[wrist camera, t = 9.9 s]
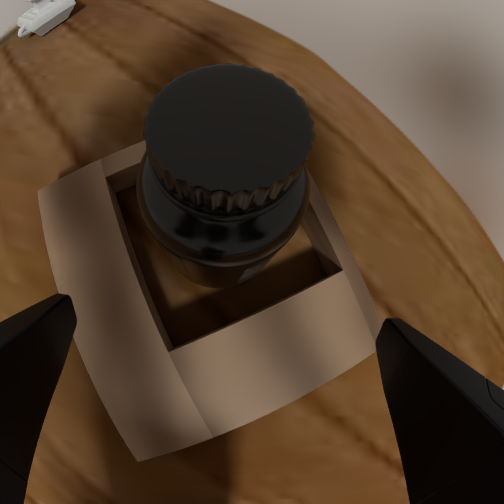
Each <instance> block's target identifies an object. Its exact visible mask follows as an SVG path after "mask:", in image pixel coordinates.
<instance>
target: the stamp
mask: <svg viewBox="0 0 504 504" xmlns="http://www.w3.org/2000/svg"><path fill="white" fill-rule="evenodd" d="M23 1H27V2H32V3H33V8H31V9H30V10H29V11H27V12H26V13H24V14H23V15H22V16H20V17H19V19H18V26H20V27H21V28H20V29H19V32H18V36H19V37H23V36H25V35H27V34H29V33H30V32H33V33H36V34H38V35H40V36H43V35H44V34H46V33H47V32H48V31H50V30H51V29H52V28H54V27H55V26H57V25H58V24H60V23H61V22H63V21H64V20H66V19H67V18H68V17H69V15H70V13H71V11H72V10H73V8H74V5H75V4H76V3H75V1H74V0H23ZM24 29H27V30H26V31H25V32H23V31H24Z"/></svg>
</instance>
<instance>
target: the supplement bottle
mask: <svg viewBox="0 0 504 504" xmlns="http://www.w3.org/2000/svg"><path fill="white" fill-rule="evenodd" d="M144 124H145V128H144V131H143V136H144V140H145V143H146V151H145V153H144V155H143V157H142V159H141V162H140V165H139V168H138V173H137V179H136V195H137V202H138V206H139V209H140V212H141V214H142V217H143V219H144V221H145V223H146V225H147V227H148V229H149V231H150V232H151V234H152V235H153V237H154V238H155V239H156V241H157V242H158V244H159V245H160V247H161V248H162V250H163V251H164V252H165V254H166V255H167V257H168V258H169V260H170V261H171V262H172V264H173V265H174V266H175V268H176V269H177V270H178V271H179V272H180V273H181V274H182V275H183V276H184V277H186V278H187V279H189V280H190V281H192V282H194V283H196V284H198V285H201V286H204V287H208V288H229V287H233V286H237V285H239V284H242V283H244V282H246V281H247V280H249V279H251V278H252V277H253V276H254V275H256V274H257V273H258V272H259V271H260V270H261V269H262V268H263V267H264V266H265V265H266V264H267V263H268V262H269V261H270V260H271V259H272V258H273V257H274V256H275V254H276V253H277V252H278V251H279V250H280V249H281V248H282V247H283V246H284V245H285V244H286V243H287V242H288V241H289V240H290V238H291V237H292V236H293V235H294V233H295V232H296V230H297V229H298V227H299V226H300V224H301V222H302V220H303V218H304V216H305V213H306V211H307V207H308V203H309V197H310V177H309V172H308V168H307V164H306V160H307V158H308V157H309V155H310V153H311V151H312V141H313V139H314V136H315V134H314V131H313V129H312V128H313V124H314V122H313V120H312V118H311V117H310V110H309V109H308V107H307V106H306V105H305V102H304V99H303V98H301V97H300V96H299V95H298V94H297V93H296V90H295V89H294V88H292V87H290V86H288V85H287V83H286V82H285V81H284V80H281V79H279V78H277V77H275V76H274V75H273V74H271V73H267V72H264V71H262V70H261V69H259V68H251V67H249V66H246V65H235V64H231V63H230V64H224V65H221V64H214V65H211V66H203V67H200V68H198V69H196V70H190V71H187V72H186V73H184V74H183V75H181V76H178V77H175V78H174V79H173V81H172V82H170V83H168V84H166V85H164V87H163V88H162V90H161V91H160V92H159V93H157V94H156V95H155V97H154V101H153V102H152V103H151V104H150V105H149V106H148V113H147V115H146V116H145V118H144Z"/></svg>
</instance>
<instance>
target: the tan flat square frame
mask: <svg viewBox="0 0 504 504" xmlns="http://www.w3.org/2000/svg"><path fill="white" fill-rule="evenodd" d="M145 151H146V143H145V140H144V141H142V142H139V143H136V144H134V145H131V146H129V147H127V148H124V149H122V150H119V151H117V152H115V153H112V154H110V155H108V156H106V157H103V158H101V159H99V160H97V161H95V162H93V163H90V164H88V165H86V166H84V167H82V168H80V169H78V170H76V171H74V172H72V173H70V174H68V175H66V176H64V177H62V178H60V179H58V180H57V181H55V182H53V183H51V184H49V185H47V186H46V187H44V188H42V189H40V190H39V191H38V199H39V206H40V213H41V219H42V225H43V230H44V235H45V240H46V245H47V250H48V254H49V259H50V263H51V267H52V271H53V275H54V278H55V282H56V286H57V289H58V292H59V293H61V294H67V295H69V296H70V297H71V299H72V302H73V306H74V309H75V313H76V316H77V326H76V329H75V332H74V335H73V337H74V340H75V342H76V345H77V347H78V350H79V352H80V355H81V357H82V360H83V362H84V364H85V367H86V369H87V371H88V373H89V376H90V378H91V380H92V382H93V384H94V386H95V388H96V391H97V393H98V395H99V397H100V399H101V401H102V402H103V404H104V406H105V408H106V410H107V412H108V414H109V416H110V418H111V419H112V421H113V423H114V425H115V426H116V428H117V430H118V432H119V433H120V435H121V437H122V438H123V440H124V442H125V443H126V445H127V446H128V448H129V450H130V451H131V453H132V454H133V456H134V457H135V459H136V460H137V462H140V461H144V460H148V459H151V458H155V457H158V456H161V455H165V454H168V453H171V452H174V451H177V450H180V449H183V448H186V447H189V446H192V445H195V444H198V443H200V442H203V441H206V440H208V439H211V438H214V437H216V436H219V435H221V434H224V433H226V432H229V431H231V430H233V429H236V428H238V427H240V426H243V425H245V424H247V423H249V422H252V421H254V420H256V419H258V418H260V417H263V416H265V415H267V414H269V413H271V412H273V411H275V410H277V409H279V408H281V407H283V406H285V405H287V404H289V403H291V402H293V401H295V400H296V399H298V398H300V397H302V396H304V395H306V394H308V393H309V392H311V391H313V390H315V389H316V388H318V387H320V386H322V385H323V384H325V383H327V382H329V381H330V380H332V379H334V378H335V377H337V376H339V375H340V374H342V373H343V372H345V371H347V370H348V369H350V368H351V367H353V366H354V365H356V364H358V363H359V362H361V361H362V360H364V359H365V358H367V357H368V356H370V355H371V354H373V353H374V352H375V351H376V347H375V342H376V338H377V336H378V334H379V331H380V329H381V327H382V322H381V320H380V317H379V315H378V312H377V310H376V307H375V305H374V303H373V300H372V298H371V296H370V293H369V291H368V289H367V286H366V284H365V282H364V280H363V277H362V275H361V273H360V271H359V269H358V267H357V264H356V262H355V260H354V258H353V256H352V254H351V252H350V249H349V247H348V245H347V243H346V241H345V239H344V237H343V235H342V233H341V231H340V229H339V227H338V225H337V223H336V221H335V219H334V217H333V215H332V213H331V211H330V209H329V208H328V206H327V204H326V202H325V200H324V198H323V196H322V194H321V192H320V191H319V189H318V187H317V185H316V183H315V181H314V180H313V178H312V176H311V174H310V172H309V171H308V172H309V177H310V197H309V203H308V207H307V211H306V213H305V216H304V218H303V220H302V222H301V223H302V225H303V227H304V229H305V231H306V233H307V235H308V237H309V239H310V241H311V243H312V245H313V247H314V249H315V251H316V253H317V255H318V257H319V259H320V261H321V264H322V266H323V268H324V270H325V272H326V274H327V277H325V278H323V279H321V280H319V281H317V282H315V283H313V284H311V285H309V286H307V287H305V288H303V289H301V290H299V291H297V292H295V293H293V294H291V295H289V296H287V297H285V298H283V299H281V300H279V301H277V302H275V303H272V304H270V305H268V306H266V307H264V308H262V309H260V310H258V311H255V312H253V313H251V314H249V315H247V316H245V317H242V318H240V319H238V320H236V321H234V322H232V323H229V324H227V325H225V326H223V327H220V328H218V329H216V330H214V331H211V332H209V333H207V334H204V335H202V336H200V337H197V338H195V339H193V340H190V341H188V342H186V343H183V344H181V345H179V346H176V347H174V348H173V345H172V343H171V341H170V339H169V337H168V335H167V332H166V330H165V328H164V326H163V323H162V321H161V319H160V316H159V314H158V312H157V309H156V307H155V304H154V302H153V300H152V297H151V295H150V292H149V290H148V287H147V285H146V282H145V279H144V277H143V274H142V272H141V269H140V266H139V263H138V261H137V258H136V255H135V252H134V250H133V247H132V244H131V241H130V238H129V235H128V232H127V229H126V226H125V223H124V220H123V216H122V213H121V210H120V207H119V203H118V200H117V197H116V193H117V192H120V191H122V190H124V189H126V188H129V187H131V186H133V185H136V179H137V173H138V168H139V165H140V162H141V159H142V157H143V155H144V153H145Z"/></svg>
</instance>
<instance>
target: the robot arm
mask: <svg viewBox="0 0 504 504" xmlns="http://www.w3.org/2000/svg"><path fill="white" fill-rule="evenodd" d="M76 326H77V316H76V313H75V309H74V306H73V302H72V299H71V297H70V296H69V295H67V294H61V293H57V294H55V295H53V296H51V297H49V298H47V299H45V300H43V301H41V302H39V303H37V304H35V305H33V306H31V307H29V308H27V309H25V310H23V311H21V312H19V313H17V314H15V315H13V316H11V317H9V318H8V319H6V320H4V321H2V322H0V504H24V499H25V493H26V488H27V483H28V482H27V481H28V478H29V473H30V469H31V465H32V461H33V457H34V453H35V449H36V446H37V442H38V439H39V435H40V432H41V429H42V426H43V422H44V419H45V416H46V413H47V410H48V407H49V404H50V402H51V399H52V396H53V393H54V391H55V388H56V385H57V383H58V380H59V377H60V375H61V372H62V370H63V367H64V364H65V361H66V357H67V354H68V351H69V347H70V344H71V341H72V338H73V335H74V332H75V329H76ZM375 347H376V352H377V357H378V362H379V368H380V373H381V379H382V384H383V389H384V393H385V397H386V401H387V404H388V408H389V412H390V415H391V419H392V423H393V427H394V431H395V435H396V439H397V443H398V447H399V452H400V456H401V461H402V465H403V470H404V475H405V480H406V485H407V490H408V496H409V502H410V504H504V390H503V389H501V388H500V387H498V386H497V385H495V384H494V383H493V382H491V381H490V380H488V379H485V377H484V376H483V375H481V374H480V373H478V372H477V371H476V370H474V369H473V368H471V367H470V366H468V365H467V364H466V363H464V362H463V361H461V360H460V359H458V358H457V357H456V356H454V355H453V354H451V353H450V352H448V351H447V350H445V349H444V348H443V347H441V346H440V345H438V344H437V343H435V342H434V341H432V340H431V339H429V338H428V337H427V336H425V335H424V334H422V333H421V332H419V331H418V330H416V329H415V328H413V327H412V326H410V325H409V324H407V323H406V322H404V321H403V320H401V319H400V318H387V319H385V320H384V322H383V324H382V327H381V329H380V331H379V334H378V336H377V338H376V342H375Z"/></svg>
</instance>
